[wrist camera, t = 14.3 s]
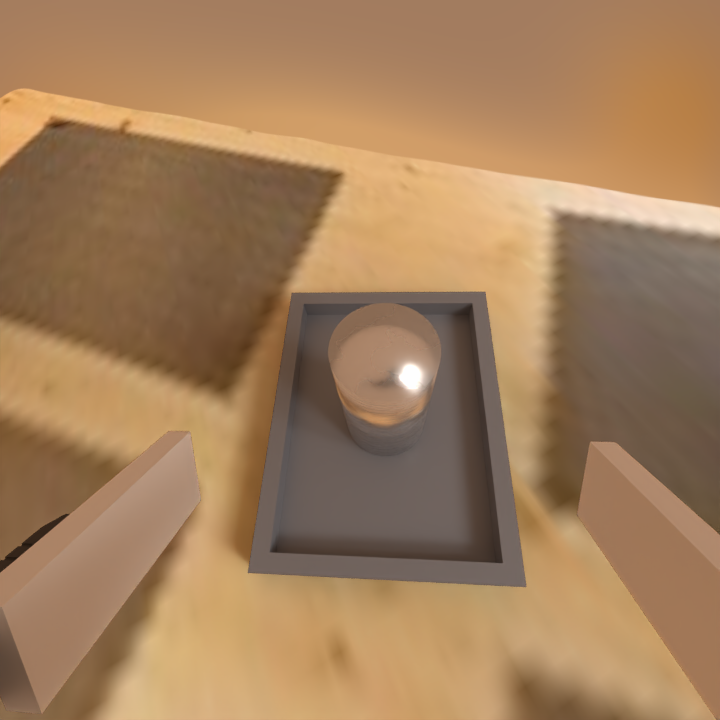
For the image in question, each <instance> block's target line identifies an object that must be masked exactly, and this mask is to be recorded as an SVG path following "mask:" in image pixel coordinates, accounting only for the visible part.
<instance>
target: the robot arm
mask: <svg viewBox="0 0 720 720" xmlns="http://www.w3.org/2000/svg"><path fill="white" fill-rule="evenodd" d="M200 501H201V496H200V490H199V484H198V477H197V471H196V465H195V458H194V452H193V446H192V440H191V433H190V432H188V431H168V432H167V433H166V434H165V435H164V436H162V437H161V438H160V439H159V440H158V441H156V442H155V443H154V444H153V445H152V446H150V447H149V448H148V449H147V450H146V451H145V452H143V453H142V454H141V455H140V456H139V457H137V458H136V459H135V460H134V461H133V462H131V463H130V464H129V465H128V466H127V467H125V468H124V469H123V470H122V471H121V472H120V473H118V474H117V475H116V476H115V477H114V478H112V479H111V480H110V481H109V482H108V483H106V484H105V485H104V486H103V487H102V488H101V489H99V490H98V491H97V492H96V493H95V494H93V495H92V496H91V497H90V498H89V499H87V500H86V501H85V502H84V503H83V504H82V505H80V506H79V507H78V508H77V509H76V510H74V511H73V512H72V513H71V514H65V515H63V516H61V517H59V518H58V519H56V520H54V521H52V522H50V523H49V524H47V525H45V526H43V527H42V528H40V529H39V530H38V531H37V532H35V533H34V534H33V535H32V536H30V537H29V538H28V539H27V540H26V541H24V542H23V543H22V546H21V547H17V548H16V549H14V550H13V551H12V552H11V553H9V554H8V555H7V556H6V557H5V560H1V561H0V697H1V699H2V702H3V704H4V706H5V709H6V711H15V712H26V713H37V714H42V713H43V712H44V710H45V709H46V708H47V706H48V705H49V704H50V702H51V701H52V700H53V698H54V697H55V696H56V694H57V693H58V692H59V690H60V689H61V688H62V686H63V685H64V684H65V682H66V681H67V680H68V678H69V677H70V675H71V674H72V673H73V671H74V670H75V669H76V667H77V666H78V665H79V663H80V662H81V661H82V659H83V658H84V657H85V655H86V654H87V653H88V651H89V650H90V649H91V647H92V646H93V645H94V643H95V642H96V641H97V639H98V638H99V636H100V635H101V634H102V632H103V631H104V630H105V628H106V627H107V626H108V624H109V623H110V622H111V620H112V619H113V618H114V616H115V615H116V614H117V612H118V611H119V610H120V608H121V607H122V606H123V604H124V603H125V602H126V600H127V599H128V598H129V596H130V595H131V593H132V592H133V591H134V589H135V588H136V587H137V585H138V584H139V583H140V581H141V580H142V579H143V577H144V576H145V575H146V573H147V572H148V571H149V569H150V568H151V567H152V565H153V564H154V563H155V561H156V560H157V559H158V557H159V556H160V554H161V553H162V552H163V550H164V549H165V548H166V546H167V545H168V544H169V542H170V541H171V540H172V538H173V537H174V536H175V534H176V533H177V532H178V530H179V529H180V528H181V526H182V525H183V524H184V522H185V521H186V520H187V518H188V517H189V515H190V514H191V513H192V511H193V510H194V509H195V507H196V506H197V505H198V503H199V502H200ZM577 516H578V517H579V519H580V520H581V522H582V523H583V525H584V526H585V528H586V529H587V530H588V532H589V533H590V535H591V536H592V538H593V539H594V541H595V542H596V544H597V545H598V547H599V548H600V550H601V551H602V552H603V554H604V555H605V557H606V558H607V560H608V561H609V563H610V564H611V566H612V567H613V569H614V570H615V572H616V573H617V575H618V576H619V577H620V579H621V580H622V582H623V583H624V585H625V586H626V588H627V589H628V591H629V592H630V594H631V595H632V597H633V598H634V599H635V601H636V602H637V604H638V605H639V607H640V608H641V610H642V611H643V613H644V614H645V616H646V617H647V619H648V620H649V621H650V623H651V624H652V626H653V627H654V629H655V630H656V632H657V633H658V635H659V636H660V638H661V639H662V641H663V642H664V644H665V645H666V646H667V648H668V649H669V651H670V652H671V654H672V655H673V657H674V658H675V660H676V661H677V663H678V664H679V666H680V667H681V668H682V670H683V671H684V673H685V674H686V676H687V677H688V679H689V680H690V682H691V683H692V685H693V686H694V688H695V689H696V690H697V692H698V693H699V695H700V696H701V698H702V699H703V701H704V702H705V704H706V705H707V707H708V708H709V710H710V711H711V713H712V714H713V715H714V717H715V718H716V720H720V535H719V534H718V533H717V532H716V531H715V530H714V529H713V528H711V527H710V526H709V525H708V524H707V523H706V522H705V521H704V520H702V519H701V518H700V517H699V516H698V515H697V514H696V513H695V512H693V511H692V510H691V509H690V508H689V507H688V506H687V505H686V504H684V503H683V502H682V501H681V500H680V499H679V498H678V497H677V496H675V495H674V494H673V493H672V492H671V491H670V490H669V489H668V488H666V487H665V486H664V485H663V484H662V483H661V482H660V481H659V480H657V479H656V478H655V477H654V476H653V475H652V474H651V473H650V472H648V471H647V470H646V469H645V468H644V467H643V466H642V465H641V464H639V463H638V462H637V461H636V460H635V459H634V458H633V457H632V456H630V455H629V454H628V453H627V452H626V451H625V450H624V449H623V448H621V447H620V446H619V445H618V444H617V443H616V442H590V445H589V450H588V456H587V462H586V467H585V473H584V478H583V484H582V490H581V495H580V501H579V506H578V512H577Z"/></svg>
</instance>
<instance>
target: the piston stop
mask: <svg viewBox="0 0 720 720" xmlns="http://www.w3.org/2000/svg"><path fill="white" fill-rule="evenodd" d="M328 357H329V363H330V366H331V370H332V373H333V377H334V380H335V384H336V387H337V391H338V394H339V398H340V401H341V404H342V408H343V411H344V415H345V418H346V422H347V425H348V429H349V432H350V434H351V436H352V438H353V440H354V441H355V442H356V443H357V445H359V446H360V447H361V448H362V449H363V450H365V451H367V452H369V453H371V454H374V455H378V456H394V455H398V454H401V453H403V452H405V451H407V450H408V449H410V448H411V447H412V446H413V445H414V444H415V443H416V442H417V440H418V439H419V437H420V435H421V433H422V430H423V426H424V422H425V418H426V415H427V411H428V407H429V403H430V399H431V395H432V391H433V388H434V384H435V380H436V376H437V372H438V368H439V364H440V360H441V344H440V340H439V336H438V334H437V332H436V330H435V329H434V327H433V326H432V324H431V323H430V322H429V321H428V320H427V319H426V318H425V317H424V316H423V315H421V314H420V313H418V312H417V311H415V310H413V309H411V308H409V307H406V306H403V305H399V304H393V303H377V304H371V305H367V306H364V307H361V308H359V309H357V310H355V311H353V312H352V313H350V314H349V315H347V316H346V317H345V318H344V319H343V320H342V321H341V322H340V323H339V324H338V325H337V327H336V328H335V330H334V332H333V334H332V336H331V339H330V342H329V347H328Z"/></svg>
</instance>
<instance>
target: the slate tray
mask: <svg viewBox="0 0 720 720" xmlns="http://www.w3.org/2000/svg"><path fill="white" fill-rule="evenodd" d="M377 303H393V304H399V305H403V306H406V307H409V308H411V309H413V310H415V311H417V312H418V313H420V314H421V315H423V316H424V317H425V318H426V319H427V320H428V321H429V322H430V323H431V324H432V326H433V327H434V329H435V330H436V332H437V334H438V336H439V340H440V344H441V360H440V364H439V368H438V372H437V376H436V380H435V384H434V388H433V391H432V395H431V399H430V403H429V407H428V411H427V415H426V418H425V422H424V426H423V430H422V433H421V435H420V437H419V439H418V440H417V442H416V443H415V444H414V445H413V446H412V447H411V448H410V449H408V450H407V451H405V452H403V453H401V454H398V455H394V456H378V455H374V454H371V453H369V452H367V451H365V450H363V449H362V448H361V447H360V446H359V445H357V443H356V442H355V441H354V440H353V438H352V436H351V434H350V432H349V429H348V425H347V422H346V418H345V415H344V411H343V408H342V404H341V401H340V398H339V394H338V391H337V387H336V384H335V380H334V377H333V373H332V370H331V366H330V363H329V357H328V347H329V342H330V339H331V336H332V334H333V332H334V330H335V328H336V327H337V325H338V324H339V323H340V322H341V321H342V320H343V319H344V318H345V317H346V316H347V315H349V314H350V313H352V312H353V311H355V310H357V309H359V308H361V307H364V306H367V305H371V304H377ZM248 573H260V574H280V575H299V576H319V577H338V578H358V579H378V580H397V581H417V582H436V583H456V584H475V585H495V586H514V587H526V580H525V573H524V566H523V559H522V552H521V545H520V537H519V530H518V523H517V516H516V509H515V501H514V494H513V487H512V480H511V473H510V466H509V458H508V451H507V444H506V437H505V430H504V423H503V415H502V408H501V401H500V394H499V387H498V380H497V372H496V365H495V358H494V351H493V344H492V336H491V329H490V322H489V315H488V308H487V301H486V293H485V292H367V293H292V296H291V302H290V308H289V315H288V321H287V327H286V334H285V340H284V347H283V353H282V359H281V366H280V372H279V378H278V385H277V391H276V397H275V404H274V410H273V416H272V423H271V429H270V435H269V442H268V448H267V455H266V461H265V467H264V474H263V480H262V486H261V493H260V499H259V505H258V512H257V518H256V524H255V531H254V537H253V544H252V550H251V556H250V563H249V569H248Z"/></svg>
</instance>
